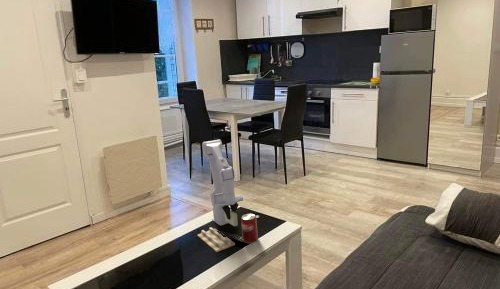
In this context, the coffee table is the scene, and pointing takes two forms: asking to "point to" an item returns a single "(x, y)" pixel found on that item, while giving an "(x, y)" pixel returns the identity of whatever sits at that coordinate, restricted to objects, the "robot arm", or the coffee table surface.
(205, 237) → the door track
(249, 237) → the soda can
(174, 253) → the coffee table surface
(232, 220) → the door panel
